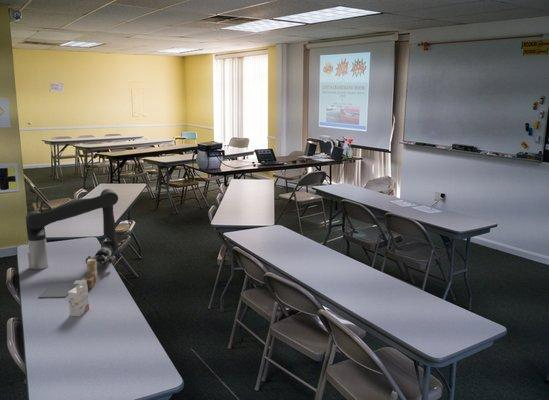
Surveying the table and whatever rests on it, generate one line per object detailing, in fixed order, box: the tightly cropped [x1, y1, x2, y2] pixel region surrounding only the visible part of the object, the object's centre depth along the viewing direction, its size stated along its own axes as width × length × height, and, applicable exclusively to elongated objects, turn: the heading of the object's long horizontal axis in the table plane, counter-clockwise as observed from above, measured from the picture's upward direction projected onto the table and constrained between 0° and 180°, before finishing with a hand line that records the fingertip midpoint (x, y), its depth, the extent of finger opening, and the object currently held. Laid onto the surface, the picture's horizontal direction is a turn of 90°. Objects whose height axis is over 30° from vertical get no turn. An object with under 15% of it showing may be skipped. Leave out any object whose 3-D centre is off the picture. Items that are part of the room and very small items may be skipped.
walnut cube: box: [81, 276, 95, 290], centre depth 251 cm, size 5×5×5 cm
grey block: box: [72, 279, 86, 289], centre depth 243 cm, size 5×5×6 cm
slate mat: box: [38, 285, 73, 299], centre depth 244 cm, size 13×13×1 cm
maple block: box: [86, 259, 99, 283], centre depth 259 cm, size 4×4×12 cm
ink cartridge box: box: [67, 281, 90, 317], centre depth 221 cm, size 9×5×15 cm, turn 168°
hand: (96, 264), depth 267 cm, fingers open, 8 cm apart
